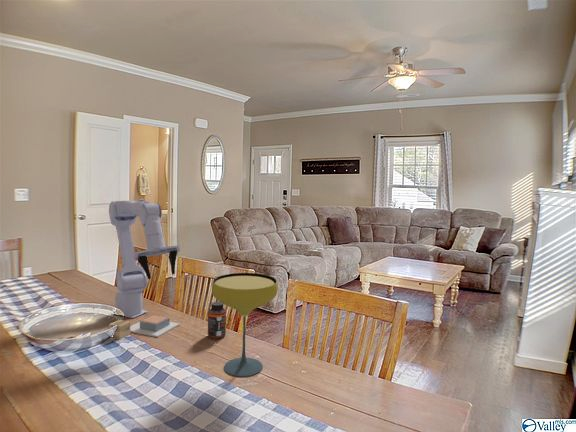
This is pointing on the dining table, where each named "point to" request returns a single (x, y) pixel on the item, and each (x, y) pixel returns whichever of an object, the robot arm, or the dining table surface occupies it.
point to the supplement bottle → (216, 321)
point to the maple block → (121, 329)
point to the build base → (145, 332)
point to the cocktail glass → (244, 309)
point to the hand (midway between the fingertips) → (161, 276)
